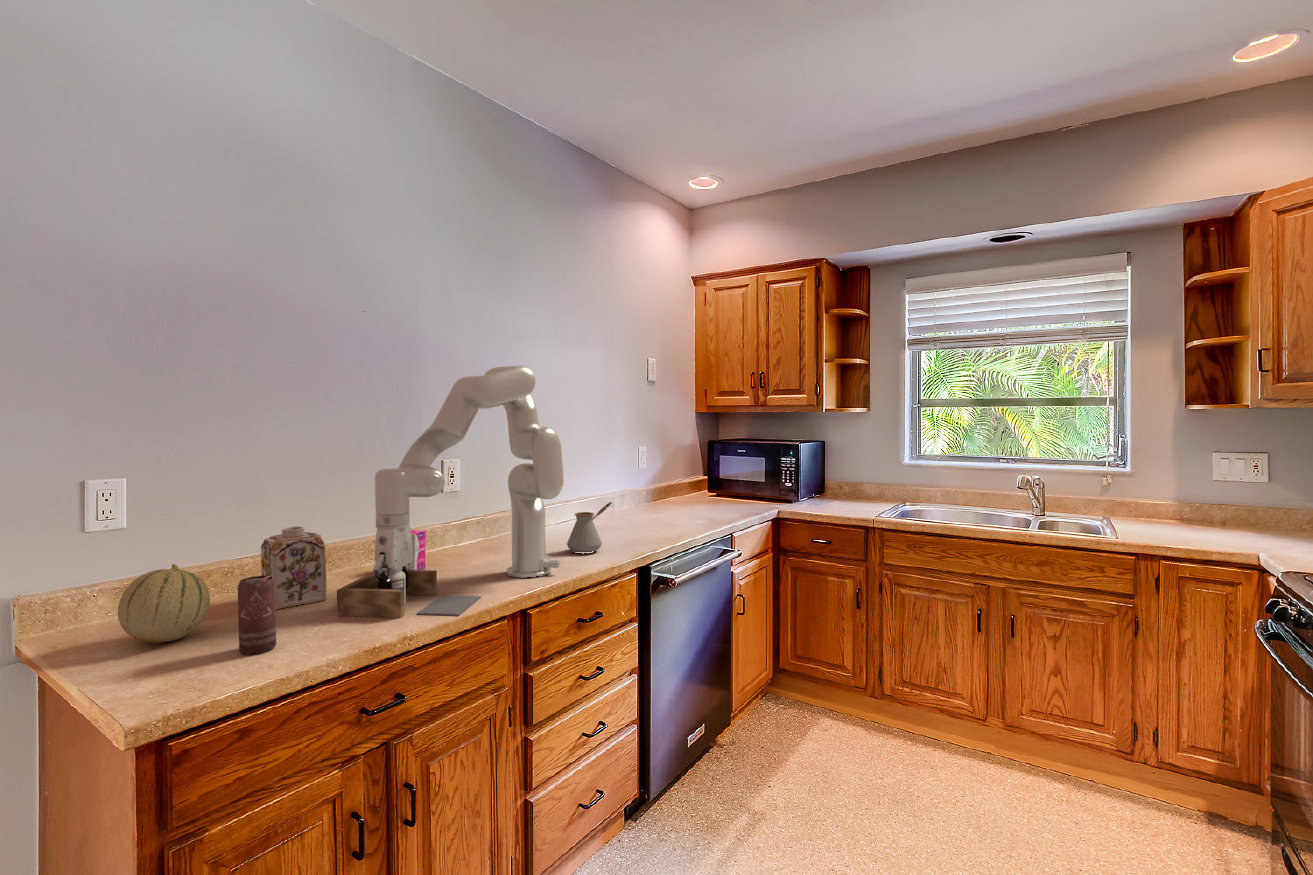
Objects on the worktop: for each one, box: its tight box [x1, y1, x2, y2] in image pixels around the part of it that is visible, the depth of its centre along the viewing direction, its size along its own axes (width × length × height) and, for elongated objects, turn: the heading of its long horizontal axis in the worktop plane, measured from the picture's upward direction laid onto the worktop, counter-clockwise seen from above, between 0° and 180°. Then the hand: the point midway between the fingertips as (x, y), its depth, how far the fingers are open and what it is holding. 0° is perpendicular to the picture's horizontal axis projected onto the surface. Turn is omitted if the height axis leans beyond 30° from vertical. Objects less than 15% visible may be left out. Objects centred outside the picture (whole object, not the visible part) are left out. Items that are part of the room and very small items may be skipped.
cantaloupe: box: [117, 563, 211, 644], centre depth 127 cm, size 15×15×15 cm
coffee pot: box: [566, 501, 615, 552], centre depth 213 cm, size 21×12×15 cm, turn 148°
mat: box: [416, 594, 482, 617], centre depth 150 cm, size 10×14×1 cm
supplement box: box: [409, 529, 427, 570], centre depth 184 cm, size 6×6×12 cm
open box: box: [336, 569, 438, 619], centre depth 152 cm, size 15×19×6 cm
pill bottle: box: [385, 566, 407, 605], centre depth 151 cm, size 5×5×10 cm
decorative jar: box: [260, 525, 327, 611], centre depth 154 cm, size 12×12×18 cm
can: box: [237, 575, 277, 656], centre depth 122 cm, size 6×6×14 cm
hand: (393, 592), depth 151 cm, fingers open, 7 cm apart
